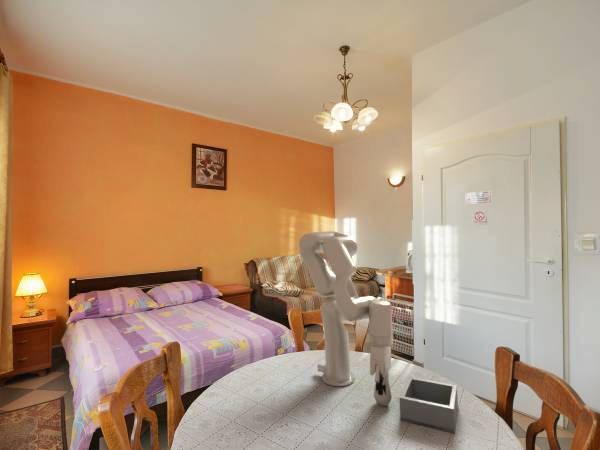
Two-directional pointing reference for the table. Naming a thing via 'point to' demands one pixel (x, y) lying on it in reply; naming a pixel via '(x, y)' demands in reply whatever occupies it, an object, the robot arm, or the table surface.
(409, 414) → the bin
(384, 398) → the salt shaker
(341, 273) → the robot arm
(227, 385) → the table surface
